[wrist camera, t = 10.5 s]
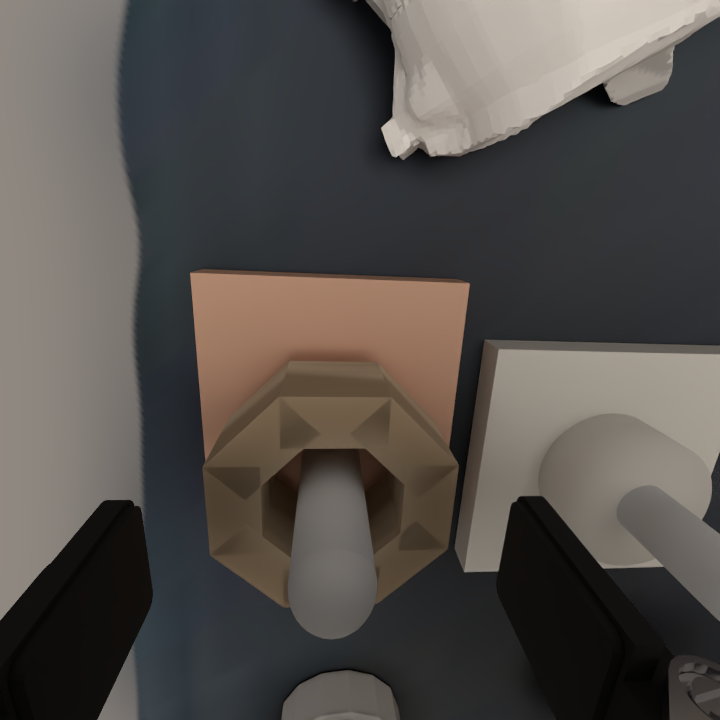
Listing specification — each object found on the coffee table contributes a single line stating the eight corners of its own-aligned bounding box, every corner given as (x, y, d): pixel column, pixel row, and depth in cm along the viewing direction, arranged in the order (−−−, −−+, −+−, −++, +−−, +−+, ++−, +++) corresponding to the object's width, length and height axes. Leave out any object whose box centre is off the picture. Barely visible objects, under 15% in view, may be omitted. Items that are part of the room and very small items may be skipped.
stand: (655, 543, 21) (837, 716, 14) (454, 548, 20) (530, 736, 13) (720, 345, 18) (1007, 427, 10) (484, 339, 17) (611, 425, 9)
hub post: (428, 524, 20) (522, 794, 10) (221, 528, 19) (113, 827, 9) (457, 279, 16) (642, 344, 7) (202, 269, 15) (-2, 328, 6)
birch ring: (420, 533, 16) (440, 601, 13) (236, 538, 15) (215, 609, 12) (438, 362, 13) (468, 398, 11) (225, 360, 13) (195, 395, 10)
